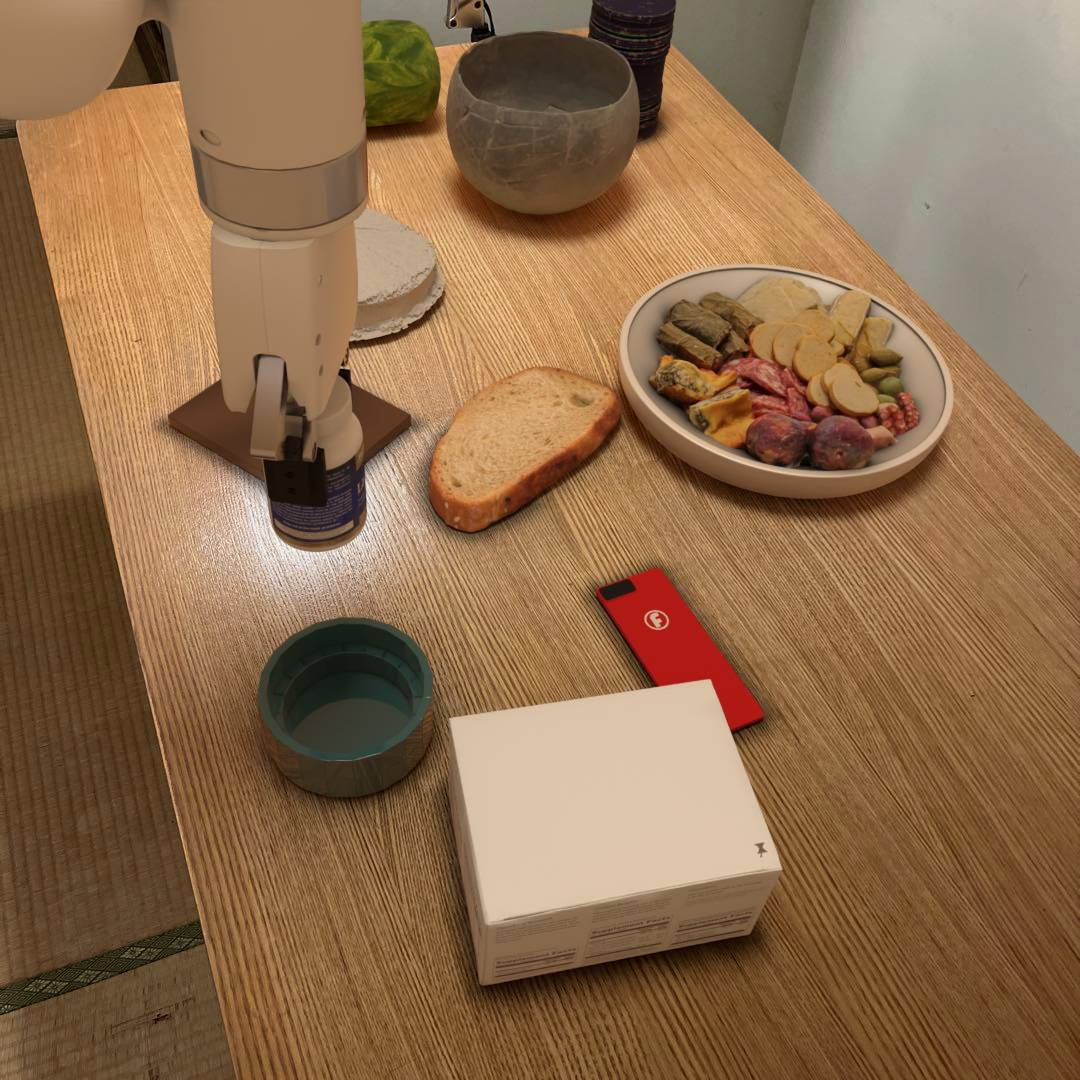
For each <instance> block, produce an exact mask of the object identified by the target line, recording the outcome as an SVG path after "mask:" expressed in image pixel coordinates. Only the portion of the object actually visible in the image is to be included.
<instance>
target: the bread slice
mask: <svg viewBox="0 0 1080 1080" xmlns="http://www.w3.org/2000/svg"><path fill="white" fill-rule="evenodd" d="M622 415H623V407H622V404H621V401H620V398H619V396H618V394H617V393H616V392H615V391H614V390H613V389H612V388H611V387H609V386H606V385H604V384H602V383H598V382H596V381H593V380H591V379H588V378H586V377H584V376H581V375H579V374H577V373H574V372H572V371H569V370H566V369H564V368H560V367H554V366H553V367H552V366H546V365H545V366H542V365H540V366H539V365H538V366H537V365H536V366H531V367H528V368H525V369H523V370H520V371H518V372H515V373H513V374H510V375H509V376H506V377H504V378H501V379H499V380H497V381H495V382H492V383H491V384H490V385H489V386H487V387H486V388H483V389H481V390H479V391H478V392H477V393H476V394H475V395H474V396H473V397H471V398H470V399H468V400H467V401H466V402H465V403H463V405H462V406H461V407H460V408H459V409H457V411H456V412H455V414H454V416H453V420H452V423H451V426H450V427H449V429H448V431H447V432H446V433H445V434H444V435H443V436H442V437H441V438H440V439H439V441H438V442H437V444H436V445H435V448H434V450H433V454H432V457H431V459H430V463H429V469H428V477H427V491H428V496H429V498H430V502H431V505H432V507H433V508H434V510H435V512H436V514H438V516H439V518H441V520H443V521H444V524H445V525H446V526H450V527H452V528H453V529H456V530H459V531H463V532H468V533H473V532H477V531H481V530H484V529H486V528H487V527H489V526H490V525H491V524H493V523H495V522H498V521H499V520H501V519H504V517H507V516H509V515H511V514H514V513H516V512H517V511H518V510H519V508H521V507H522V506H524V505H526V504H528V503H530V502H532V500H533V499H534V498H535V497H536V496H537V495H539V494H541V493H542V492H544V491H545V490H547V488H548V487H550V486H551V485H553V484H555V483H556V482H557V481H559V480H561V479H562V478H563V477H564V476H566V475H568V473H570V472H571V471H572V470H574V469H575V468H576V467H578V466H579V465H580V464H581V463H582V462H583V461H585V460H586V459H587V458H588V457H589V456H591V455H592V454H593V453H594V452H595V451H596V450H598V448H599V447H600V446H601V445H602V444H603V443H604V441H605V438H606V437H607V436H608V435H609V433H610V432H611V431H612V430H613V429H614V428H615V427H616V425H617V424H618V422H620V419H621V417H622Z"/></svg>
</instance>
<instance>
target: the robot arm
mask: <svg viewBox="0 0 1080 1080" xmlns="http://www.w3.org/2000/svg"><path fill="white" fill-rule="evenodd" d="M153 20H154V21H158V22H161V23H163V25H165V26H166V28H167V29H168V31H169V33H170V37H171V43H172V48H173V49H172V50H173V55H174V60H175V67H176V73H177V78H178V83H179V84H178V85H179V89H180V90H179V91H180V96H181V101H182V108H183V113H184V118H185V125H186V130H187V135H188V141H189V147H190V153H191V159H192V165H193V170H194V176H195V182H196V188H197V195H198V196H197V197H198V201H199V205H200V206H199V207H200V208H201V210H202V211H203V213H204V215H205V216H206V217H207V218H208V219H209V220H210V221H211V222H212V226H211V230H210V283H211V284H210V285H211V298H212V310H213V321H214V331H215V338H216V339H215V341H216V348H217V356H218V365H219V373H220V379H221V381H222V389H223V395H224V400H225V403H226V405H227V406H228V408H229V409H230V410H231V411H233V412H243V413H246V411H247V409H248V406H249V404H250V401H251V399H252V397H253V394H254V392H255V390H256V397H255V407H254V417H253V427H252V437H251V448H250V452H251V457H252V458H260V459H263V465H264V472H265V478H266V485H267V491H268V497H269V498H270V500H272V501H274V502H280V503H288V504H297V505H305V506H313V507H325V506H326V505H327V502H328V498H329V494H328V483H327V472H326V461H325V451H324V448H320V447H318V416H319V415H320V414H321V413H322V412H323V411H324V409H325V407H326V405H327V403H328V400H329V398H330V395H331V392H332V389H333V387H334V384H335V381H336V378H337V375H339V376H340V377H342V378H343V379H344V380H345V381H346V383H347V384H348V386H349V388H350V391H351V398H352V384H351V383H352V371H351V369H348V368H347V367H348V364H349V360H350V346H349V343H350V341H349V340H350V337H351V334H352V330H353V327H354V323H355V319H356V314H357V306H358V267H357V252H356V239H355V228H354V220H356V219H358V218H359V217H360V215H361V214H362V213H363V212H364V210H365V209H366V208H367V207H368V203H369V200H370V198H369V197H370V194H369V193H370V190H369V163H368V161H369V160H368V141H367V139H368V137H367V127H366V124H365V94H364V69H363V41H362V23H363V22H362V21H363V19H362V0H0V119H4V120H8V121H47V120H52V119H56V118H61V117H66V116H69V115H71V114H73V113H75V112H77V111H80V110H81V109H84V108H86V107H87V106H89V105H90V104H92V103H93V102H94V101H95V100H96V99H98V98H99V97H100V96H101V95H102V94H103V93H104V92H106V90H107V89H108V88H109V87H110V86H111V85H112V83H113V82H114V80H115V78H116V76H117V75H118V73H119V71H120V69H121V68H122V66H123V64H124V61H125V59H126V57H127V54H128V51H129V50H130V47H131V45H132V43H133V41H134V38H135V35H136V32H137V29H138V27H140V26H141V25H143V24H144V23H147V22H148V21H153ZM341 367H344V368H341ZM288 389H289V391H290V392H291V394H292V396H293V397H289V396H288ZM352 412H353V400H352ZM286 415H289V416H297V417H302V438H301V437H296V436H288V435H285V430H284V427H285V416H286Z"/></svg>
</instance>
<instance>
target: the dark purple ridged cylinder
mask: <svg viewBox="0 0 1080 1080" xmlns="http://www.w3.org/2000/svg"><path fill="white" fill-rule="evenodd" d="M591 2H592V5H591V8H590V9H591V10H590V15H589V20H588V33H587V37H588V38H591V39H595V40H598V41H600V42H602V43H605V44H607V45H609V46H610V47H612V48H613V49H615V50H616V51H618V52H619V53H620V54H622V55H623V56H624V57H625V58H626V60H627V61H628V63H629V65H630V67H631V69H632V72H633V74H634V78H635V81H636V85H637V90H638V97H639V108H640V119H639V130H638V135H637V141H636V143H638V142H641V141H644V140H647V139H649V138H651V137H652V136H653V135H654V134H656V131H657V128H658V126H657V125H658V119H659V114H660V112H661V108H662V103H663V90H664V82H663V78H664V72H665V65H666V59H667V56H668V54H669V52H670V49H671V40H672V38H673V34H674V33H673V32H674V27H675V26H674V22H675V13H676V9H677V0H591Z"/></svg>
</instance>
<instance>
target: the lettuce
mask: <svg viewBox="0 0 1080 1080" xmlns="http://www.w3.org/2000/svg"><path fill="white" fill-rule="evenodd" d="M362 41H363V69H364V94H365V124H366V128H372V127H381V126H391V125H397V124H412V123H413V124H417V123H418V124H419V123H420V124H421V123H423V122H424V121H426V120H427V119H428V118H429V117H430V116H432V115H433V114H434V113H435V111H436V110H437V109H438V105H439V99H440V94H441V87H442V75H441V66H440V61H439V56H438V53H437V50H436V48H435V45H434V42H433V40H432V38H431V36H430V34H429V32H428V30H427V29H426V28H425V27H424V26H421V25H419V24H418V23H415V22H413V21H411V20H404V19H380V20H372V21H366V22H362Z"/></svg>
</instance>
